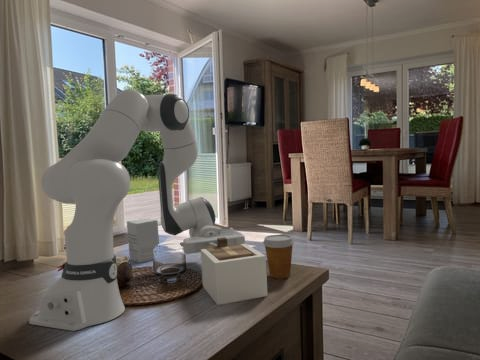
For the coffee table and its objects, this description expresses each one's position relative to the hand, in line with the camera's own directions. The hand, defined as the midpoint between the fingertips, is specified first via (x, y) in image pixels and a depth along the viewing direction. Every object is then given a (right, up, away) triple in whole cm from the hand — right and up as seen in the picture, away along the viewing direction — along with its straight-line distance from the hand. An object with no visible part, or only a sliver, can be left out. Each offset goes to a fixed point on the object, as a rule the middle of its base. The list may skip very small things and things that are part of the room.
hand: (220, 248), depth 118 cm
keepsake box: (+4, -10, -9) cm, 15 cm away
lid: (+2, -1, -7) cm, 7 cm away
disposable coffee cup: (+19, -9, +2) cm, 21 cm away
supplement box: (-31, -10, +31) cm, 45 cm away
